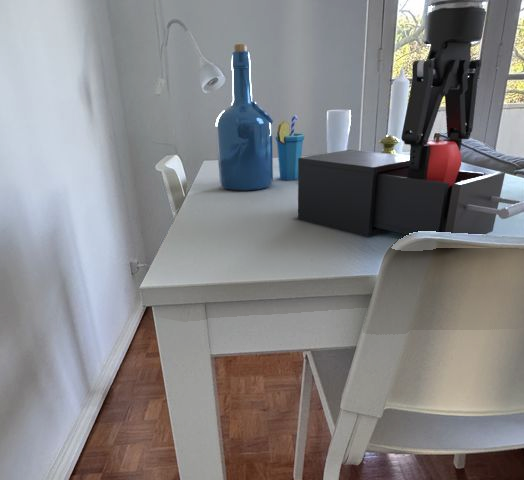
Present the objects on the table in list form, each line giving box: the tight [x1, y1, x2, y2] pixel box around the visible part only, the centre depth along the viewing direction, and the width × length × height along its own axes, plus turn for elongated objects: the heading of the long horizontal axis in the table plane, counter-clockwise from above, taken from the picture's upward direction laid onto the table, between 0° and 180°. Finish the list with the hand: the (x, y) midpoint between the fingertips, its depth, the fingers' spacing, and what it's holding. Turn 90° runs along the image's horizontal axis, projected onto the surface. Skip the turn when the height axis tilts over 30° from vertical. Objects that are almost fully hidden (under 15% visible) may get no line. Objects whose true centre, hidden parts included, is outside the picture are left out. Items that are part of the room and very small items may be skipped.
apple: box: [426, 132, 462, 188], centre depth 72 cm, size 8×8×8 cm
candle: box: [387, 66, 411, 155], centre depth 132 cm, size 7×7×25 cm
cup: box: [274, 114, 305, 181], centre depth 123 cm, size 14×8×15 cm, turn 163°
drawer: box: [372, 166, 524, 235], centre depth 72 cm, size 22×13×9 cm, turn 40°
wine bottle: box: [215, 43, 275, 192], centre depth 110 cm, size 14×13×30 cm
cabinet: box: [297, 149, 410, 237], centre depth 84 cm, size 17×14×11 cm
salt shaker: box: [378, 134, 399, 154], centre depth 120 cm, size 7×7×10 cm
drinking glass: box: [325, 109, 352, 153], centre depth 138 cm, size 7×7×15 cm
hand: (430, 187), depth 74 cm, fingers closed on apple, 8 cm apart
